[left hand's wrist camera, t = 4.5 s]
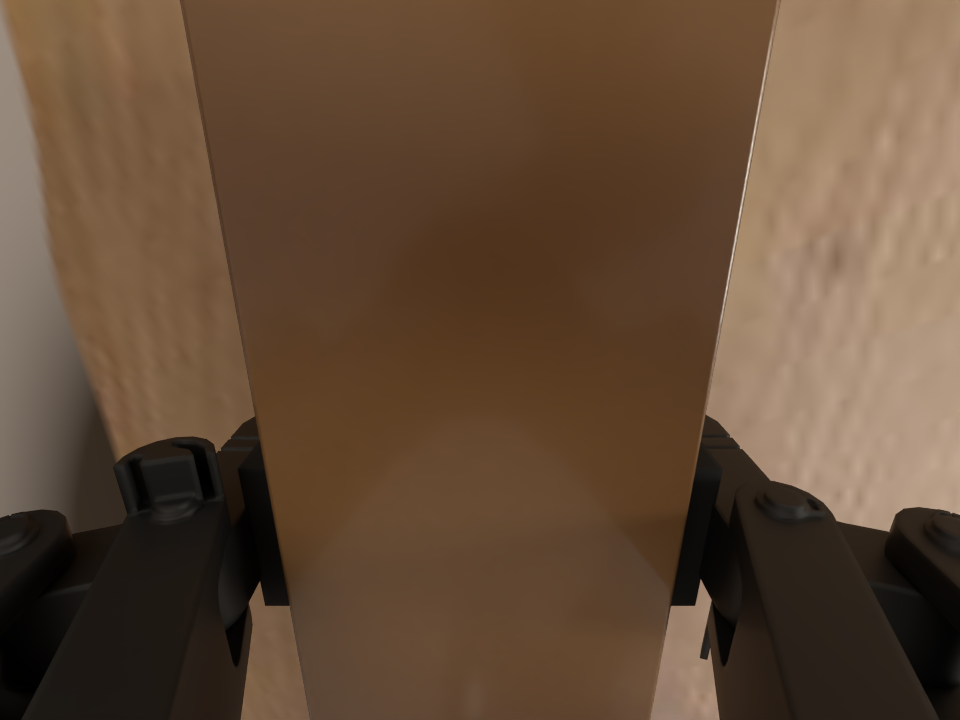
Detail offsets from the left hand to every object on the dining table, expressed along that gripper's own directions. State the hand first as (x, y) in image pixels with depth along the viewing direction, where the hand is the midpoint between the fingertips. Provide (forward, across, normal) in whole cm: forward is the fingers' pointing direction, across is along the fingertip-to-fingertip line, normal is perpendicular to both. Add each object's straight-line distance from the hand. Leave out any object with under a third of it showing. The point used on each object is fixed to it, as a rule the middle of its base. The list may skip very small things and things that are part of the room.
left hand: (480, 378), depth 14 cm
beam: (+1, 0, -22) cm, 22 cm away
